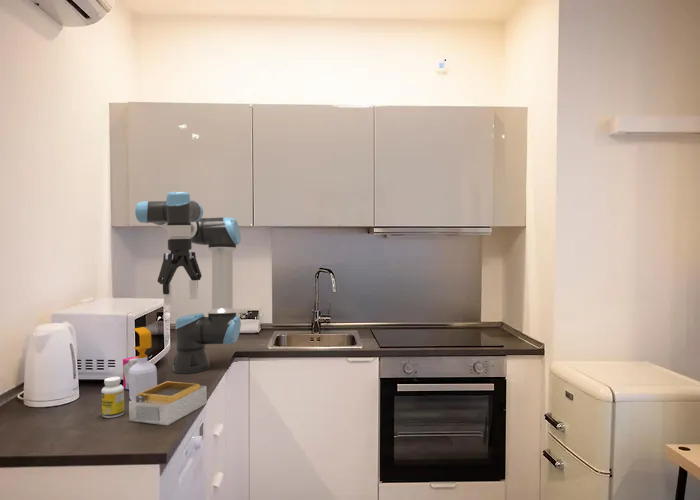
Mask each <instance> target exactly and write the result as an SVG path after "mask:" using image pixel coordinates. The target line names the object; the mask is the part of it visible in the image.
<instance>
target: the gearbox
mask: <svg viewBox="0 0 700 500" xmlns="http://www.w3.org/2000/svg"><path fill="white" fill-rule="evenodd" d="M207 390H208V389H207V385H201V384H200V383H194V382H192V383H191V382H182V381H169V380H166V381H164V382H162V383H159V384H157V386H154V387H152V388H150V389H147V390H145V391H143V392H140V393H138V394H137V396H136V399H134V400H129V401H128V415H129V419H128V420H129V421H130V422H136V423H143V424H152V425H153V424H154V425H160V426H169V425H171V424H173V423H174V422H176V421H178V420H180V419H181V418H183V417H186V416H187V415H189V414H191V413H193V412H194V411H196V410H198V409H200V408H201V407H203V406H205V405H207V403H208V400H207V398H208V397H207V396H208V395H207V393H208V392H207Z"/></svg>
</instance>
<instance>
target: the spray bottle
mask: <svg viewBox="0 0 700 500" xmlns="http://www.w3.org/2000/svg"><path fill="white" fill-rule="evenodd" d="M133 330H134V331H135V333H137V334H138V336H139V346H134V347H133V349H134V350H136V351H137V352H138V353H139V355H137V363H136V364H134V365H133V366H132V367H131V368H130V369H129V390H128V391H129V392H128V394H129V395H128V396H129V399H130V400H129V401H131V400H134V399H136V396H137V394H138V393H140V392H143V391H145V390H147V389H150V388H152V387H154V386H157V385H158V372H157V370H158V369H157V367H156V365H155V364H154V363H152V362H150V361H148V360H149V359H148V354H146V351H147V349H151V348H152V332H151V331H150V330H149V329H148V328H147V327H146V326H142V327H135V328H134V329H133Z"/></svg>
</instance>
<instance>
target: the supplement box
mask: <svg viewBox="0 0 700 500" xmlns="http://www.w3.org/2000/svg"><path fill="white" fill-rule="evenodd" d="M137 356H138V355H137ZM137 356H131V357H126V358H122V376H123V378H122V379H123V380H122V381H123V383H122V384H123V385H122V386H123V387H124V391H129V369H130V368H131V367H132V366H133V365H134V364H136V363H137Z"/></svg>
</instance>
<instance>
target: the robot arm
mask: <svg viewBox="0 0 700 500" xmlns="http://www.w3.org/2000/svg"><path fill="white" fill-rule="evenodd" d="M134 211H135V213H134V214H135V219H136V220H137V221H138V222H139V223H144V224H149V223H151V224H154V225H156V226H158V227H161V228H162V229H164V230H166V231H167V238H168V240H167V250H168V251H170V252H168V253H167V252H166V253H163V261H162V264H161V267H160V271H159V274H158V277H157V283H159V285H162V294H163V305H173V284H172V283H171V281H172V280H173V277H174V276H175V274H176V271H177V269H178V268H180V267H183V268H184V270H185V271H186V274H187V275H188V277H189V278H190V280H188V283H189V284H188V285H189V300H198V298H199V297H198V295H199V291H198V287H199V285H198V283H199V282H198V281H201V279H202V276H203V275H202V271H201V269H200V266H199V264H198V260H197V256H196V252H195V251H190V250H192V249H193V248H192V247H193V246H192V245H193V244H195V245H199V246H200V245H201V246H208V250H209V251H210V252H211V260H212V261H211V309H210V310H209V311H208V312H207V316H205V314H204V313H203V312H202V313H201V312H198V313H191V314H186V315H183V316H179V317H178V318H176V320H175V328H174V329H175V342H176V343H175V345H176V352H175V356H174V360H173V363H172V372H174V373H176V374H177V373H178V374H194V373H200V372H204V371H206V370H208V369H210V367H211V366H210V359H209V357H208V354H207V351H206V345H230V344H231V345H232V344H235V343H236V342H237V341H238V338H239V335H240V333H241V325H242V322H241V317H240V316H239V315H237V311H236V310H235V309H234V307H233V301H234V300H233V296H234V295H233V292H234V291H233V287H234V286H233V283H234V282H233V274H234V273H233V262H234V261H233V259H234V258H233V253H234V252H235V250H237V245H240V243H241V229H240V226H239V224H238V221H237V220H236V219H235V218H234V217H226V216H223V217H203V214H204V208H203V206H202V205H201V204H200V203H199V202H197V201H195V200H191V195H190V193H189V192H186V191H170V192H167V194H166V201H165V200H163V201H162V200H155V201H154V200H152V201H150V200H149V201H148V200H146V201H139V202H138V203H137V204H136V205H135V210H134Z"/></svg>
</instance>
